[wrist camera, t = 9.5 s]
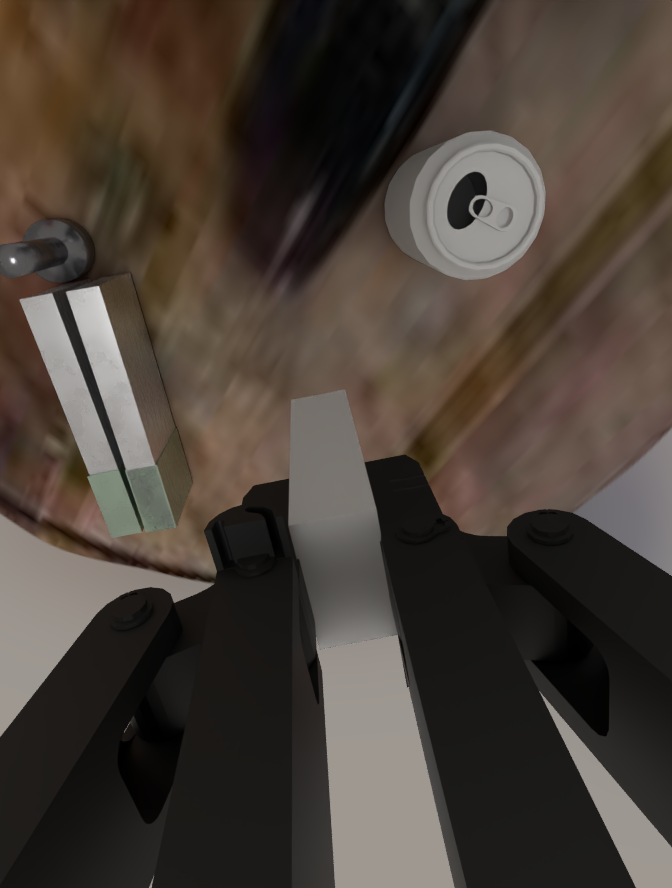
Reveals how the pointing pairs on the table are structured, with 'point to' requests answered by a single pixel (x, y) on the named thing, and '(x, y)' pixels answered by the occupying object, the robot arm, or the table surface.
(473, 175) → the can
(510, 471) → the table surface
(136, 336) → the tong jaw
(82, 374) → the base
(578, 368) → the table surface
